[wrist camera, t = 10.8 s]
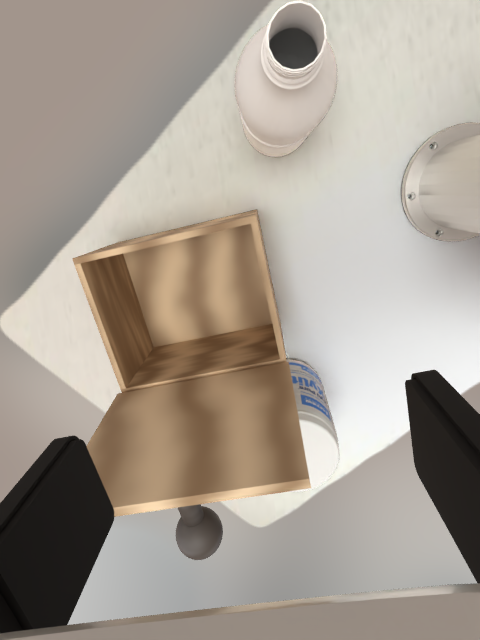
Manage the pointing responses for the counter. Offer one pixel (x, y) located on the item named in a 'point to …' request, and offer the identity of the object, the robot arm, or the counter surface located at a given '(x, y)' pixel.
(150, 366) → the wooden box
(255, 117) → the water bottle
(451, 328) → the counter surface
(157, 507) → the lid
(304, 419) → the supplement tub
